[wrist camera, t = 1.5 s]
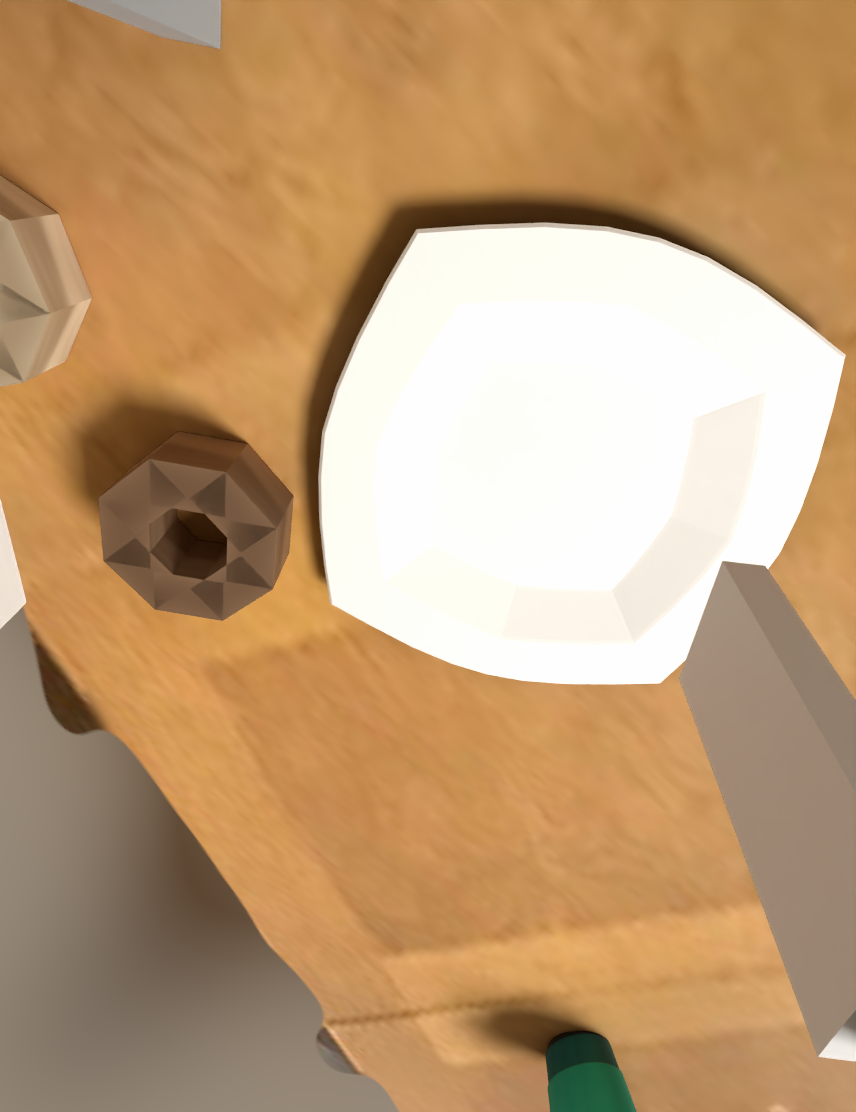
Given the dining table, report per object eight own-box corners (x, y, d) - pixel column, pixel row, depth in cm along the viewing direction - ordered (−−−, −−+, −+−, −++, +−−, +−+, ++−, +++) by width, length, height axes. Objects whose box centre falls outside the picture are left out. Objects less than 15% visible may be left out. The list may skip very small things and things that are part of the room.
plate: (898, 308, 30) (924, 317, 28) (670, 698, 41) (679, 721, 40) (381, 152, 28) (375, 152, 26) (292, 607, 39) (284, 627, 38)
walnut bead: (128, 422, 34) (94, 449, 31) (296, 452, 34) (279, 481, 31) (136, 565, 38) (106, 601, 35) (286, 590, 38) (270, 628, 35)
